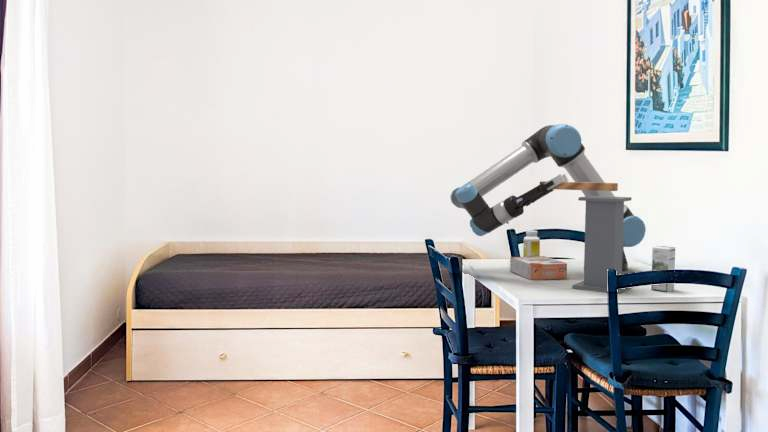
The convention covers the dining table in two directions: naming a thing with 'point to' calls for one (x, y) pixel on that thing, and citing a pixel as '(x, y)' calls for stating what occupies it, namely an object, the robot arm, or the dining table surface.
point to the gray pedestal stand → (602, 240)
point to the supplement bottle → (531, 244)
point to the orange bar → (585, 186)
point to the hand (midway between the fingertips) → (564, 177)
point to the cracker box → (538, 267)
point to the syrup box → (663, 264)
